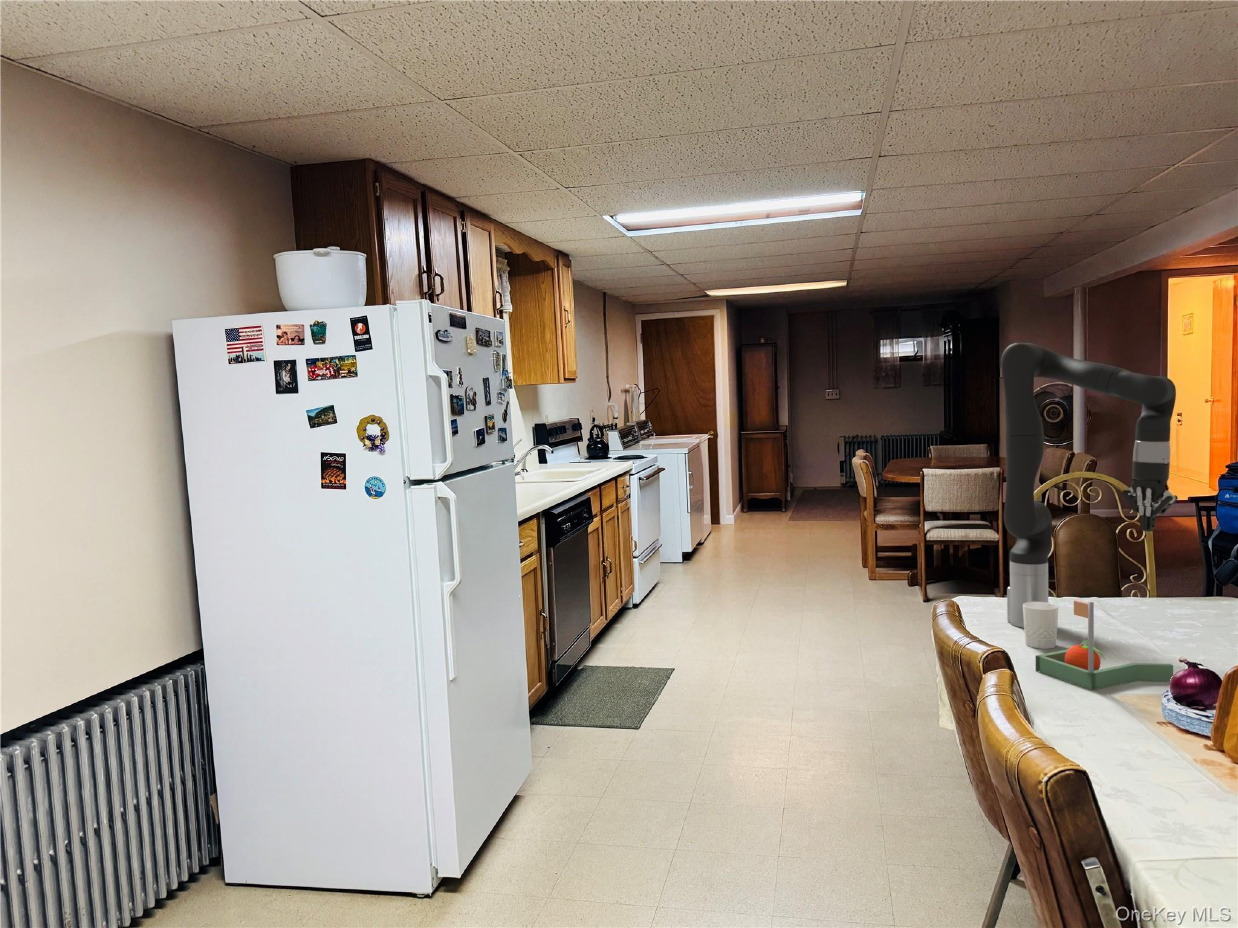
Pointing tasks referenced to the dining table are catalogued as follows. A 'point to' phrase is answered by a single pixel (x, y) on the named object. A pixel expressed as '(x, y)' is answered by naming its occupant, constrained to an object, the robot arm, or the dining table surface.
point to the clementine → (1082, 657)
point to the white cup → (1040, 624)
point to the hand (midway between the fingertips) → (1147, 530)
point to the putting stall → (1090, 678)
